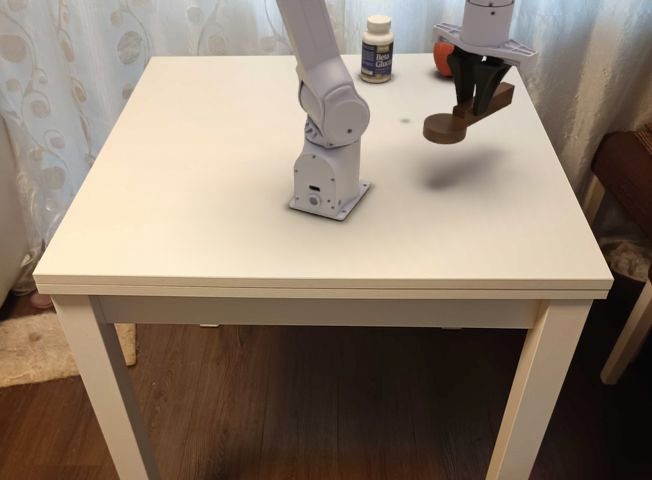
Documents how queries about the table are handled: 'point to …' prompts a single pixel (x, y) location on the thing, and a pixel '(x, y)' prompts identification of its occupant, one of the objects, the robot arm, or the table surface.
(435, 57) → the apple
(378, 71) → the pill bottle
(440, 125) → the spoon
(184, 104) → the table surface
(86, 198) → the table surface
